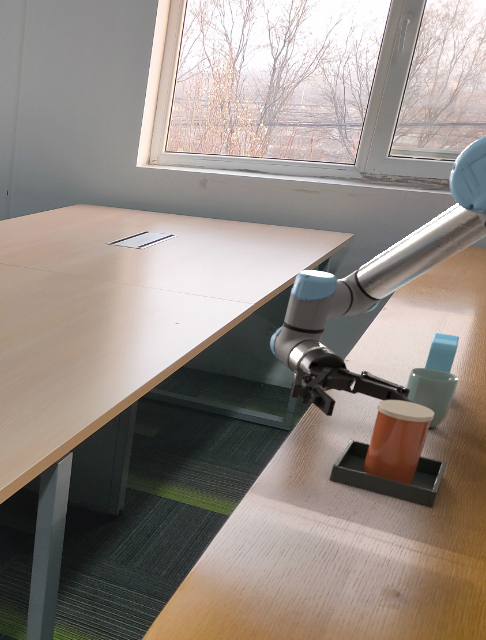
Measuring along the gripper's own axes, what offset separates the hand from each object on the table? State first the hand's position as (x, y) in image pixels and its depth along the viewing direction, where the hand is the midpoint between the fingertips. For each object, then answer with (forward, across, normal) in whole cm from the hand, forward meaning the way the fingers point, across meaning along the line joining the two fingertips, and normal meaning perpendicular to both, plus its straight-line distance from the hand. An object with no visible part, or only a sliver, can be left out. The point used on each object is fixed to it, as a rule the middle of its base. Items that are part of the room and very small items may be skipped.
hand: (372, 410), depth 134 cm
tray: (+10, 0, -8) cm, 13 cm away
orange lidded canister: (+10, 0, -8) cm, 12 cm away
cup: (-18, -20, -10) cm, 28 cm away
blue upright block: (-36, -33, -10) cm, 50 cm away
